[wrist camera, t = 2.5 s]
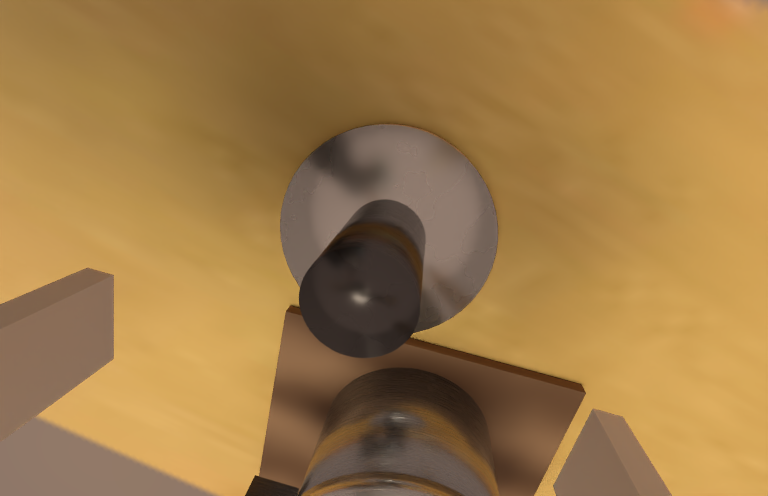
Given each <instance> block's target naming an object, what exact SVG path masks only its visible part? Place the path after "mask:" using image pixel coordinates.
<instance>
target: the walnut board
mask: <svg viewBox="0 0 768 496" xmlns="http://www.w3.org/2000/svg"><path fill="white" fill-rule="evenodd" d="M386 368H413V369H419V370H424V371H428V372H431V373H434V374H437V375H439V376H442V377H444V378H446V379H448V380H450V381H451V382H453V383H455V384H456V385H458V386H459V387H460V388H462V389H463V390H464V391H465V392H467V393H468V394H469V395H470V396H471V398H472V399H473V400H474V401H475V402H476V404H477V405H478V406H479V408H480V409H481V411H482V413H483V415H484V417H485V420H486V423H487V425H488V431H489V436H490V443H491V449H492V455H493V461H494V467H495V473H496V479H497V485H498V491H499V496H534V494H535V492H536V491H537V489H538V487H539V485H540V483H541V481H542V479H543V477H544V475H545V473H546V471H547V469H548V467H549V465H550V463H551V461H552V459H553V457H554V455H555V453H556V451H557V449H558V447H559V445H560V443H561V441H562V439H563V437H564V435H565V433H566V431H567V429H568V428H569V426H570V424H571V422H572V420H573V418H574V416H575V414H576V412H577V410H578V408H579V406H580V404H581V402H582V400H583V398H584V396H585V394H586V392H585V390H584V388H583V387H582V385H581V384H578V383H574V382H570V381H566V380H563V379H559V378H555V377H552V376H548V375H544V374H541V373H537V372H533V371H530V370H526V369H522V368H519V367H515V366H511V365H508V364H504V363H500V362H497V361H493V360H489V359H485V358H482V357H478V356H474V355H471V354H467V353H463V352H460V351H456V350H452V349H449V348H445V347H441V346H438V345H434V344H430V343H427V342H423V341H419V340H416V339H412V338H409V339H408V340H407V341H406V342H405V343H404V344H403V345H402V346H400V347H399V348H398V349H396V350H394V351H393V352H391V353H388V354H386V355H383V356H379V357H373V358H355V357H350V356H346V355H343V354H340V353H338V352H335V351H333V350H331V349H330V348H328V347H327V346H325V345H324V344H323V343H321V342H320V341H319V340H318V339H317V338H316V337H315V336H314V335H313V334H312V333H311V331H310V330H309V328H308V327H307V325H306V323H305V321H304V319H303V317H302V314H301V310H300V308H298V307H294V306H290V307H289V308H288V309H287V311H286V314H285V320H284V327H283V333H282V339H281V345H280V351H279V357H278V363H277V369H276V376H275V382H274V388H273V394H272V400H271V406H270V412H269V419H268V425H267V431H266V437H265V443H264V449H263V455H262V462H261V468H260V474H259V477H263V478H266V479H269V480H273V481H276V482H280V483H283V484H287V485H290V486H293V487H297V488H299V491H300V489H301V486H302V483H303V480H304V478H305V475H306V472H307V469H308V467H309V464H310V461H311V458H312V456H313V453H314V450H315V447H316V445H317V442H318V439H319V436H320V433H321V431H322V428H323V425H324V422H325V420H326V417H327V414H328V411H329V409H330V406H331V404H332V402H333V400H334V399H335V397H336V396H337V394H338V393H339V392H340V391H341V390H342V389H343V388H344V387H345V386H346V385H347V384H349V383H350V382H351V381H353V380H354V379H356V378H358V377H360V376H362V375H364V374H367V373H369V372H372V371H376V370H380V369H386ZM299 491H298V493H299Z"/></svg>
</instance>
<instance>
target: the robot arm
mask: <svg viewBox="0 0 768 496" xmlns="http://www.w3.org/2000/svg"><path fill="white" fill-rule="evenodd" d="M113 359H114V275H111V274H108V273H104V272H101V271H97V270H93V269H90V268H86V269H83V270H81V271H79V272H76V273H74V274H71V275H69V276H67V277H64V278H62V279H60V280H57V281H55V282H53V283H50V284H48V285H45V286H43V287H41V288H38V289H36V290H34V291H31V292H29V293H26V294H24V295H22V296H19V297H17V298H15V299H12V300H10V301H7V302H5V303H3V304H0V442H1V441H3V440H4V439H5V438H7V437H8V436H9V435H11V434H12V433H13V432H15V431H16V430H18V429H19V428H20V427H22V426H23V425H24V424H26V423H27V422H28V421H30V420H31V419H32V418H34V417H35V416H37V415H38V414H39V413H41V412H42V411H43V410H45V409H46V408H47V407H49V406H50V405H51V404H53V403H54V402H56V401H57V400H58V399H60V398H61V397H62V396H64V395H65V394H66V393H68V392H69V391H70V390H72V389H73V388H75V387H76V386H77V385H79V384H80V383H81V382H83V381H84V380H85V379H87V378H88V377H90V376H91V375H92V374H94V373H95V372H96V371H98V370H99V369H100V368H102V367H103V366H104V365H106V364H107V363H109V362H110V361H111V360H113ZM553 487H554V490H555V493H556V496H672V495H671V493H670V492H669V490H668V488H667V487H666V485H665V484H664V482H663V480H662V479H661V477H660V476H659V474H658V472H657V471H656V469H655V468H654V466H653V464H652V463H651V461H650V460H649V458H648V456H647V455H646V453H645V452H644V450H643V448H642V447H641V445H640V444H639V442H638V440H637V439H636V437H635V436H634V434H633V432H632V431H631V429H630V428H629V426H628V424H627V423H626V421H625V419H624V418H623V417H622V416H618V415H614V414H611V413H607V412H604V411H600V410H596V409H592V411H591V413H590V415H589V417H588V419H587V421H586V423H585V425H584V427H583V429H582V431H581V433H580V435H579V437H578V439H577V441H576V443H575V445H574V446H573V448H572V450H571V452H570V454H569V456H568V458H567V460H566V462H565V464H564V466H563V468H562V470H561V472H560V474H559V476H558V478H557V480H556V482H555V483H554V485H553Z"/></svg>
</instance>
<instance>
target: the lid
mask: <svg viewBox="0 0 768 496" xmlns="http://www.w3.org/2000/svg"><path fill="white" fill-rule="evenodd" d="M280 232H281V242H282V247H283V252H284V255H285V258H286V261H287V264H288V266H289V268H290V271H291V273H292V275H293V277H294V278H295V280H296V281H297V283H298V285H299V286H300V292H299V305H300V310H301V314H302V317H303V319H304V321H305V323H306V325H307V327H308V328H309V330H310V331H311V333H312V334H313V335H314V336H315V337H316V338H317V339H318V340H319V341H320V342H321V343H323V344H324V345H325V346H327V347H328V348H330V349H331V350H333V351H335V352H338V353H340V354H343V355H346V356H350V357H355V358H373V357H379V356H383V355H386V354H388V353H391V352H393V351H394V350H396V349H398V348H399V347H400V346H402V345H403V344H404V343H405V342H406V341H407V340H408V339H409V338H410V336H411V335H412V334H413V333H415V332H419V331H423V330H426V329H429V328H432V327H434V326H437V325H439V324H441V323H443V322H445V321H447V320H449V319H450V318H452V317H453V316H455V315H456V314H457V313H459V312H460V311H462V310H463V309H464V308H465V307H466V306H467V305H468V304H469V303H470V302H471V301H472V300H473V299H474V297H475V296H476V295H477V294H478V292H479V291H480V290H481V288H482V286H483V285H484V283H485V282H486V280H487V278H488V276H489V273H490V271H491V269H492V266H493V263H494V259H495V255H496V250H497V242H498V223H497V217H496V210H495V207H494V204H493V200H492V197H491V195H490V193H489V190H488V188H487V186H486V184H485V182H484V181H483V179H482V177H481V176H480V174H479V173H478V171H477V170H476V168H475V167H474V166H473V165H472V163H471V162H470V161H469V160H468V159H467V158H466V156H465V155H464V154H462V153H461V152H460V151H459V150H458V149H457V148H456V147H455V146H453V145H452V144H450V143H449V142H447V141H446V140H444V139H443V138H441V137H439V136H437V135H435V134H433V133H431V132H429V131H426V130H423V129H420V128H416V127H412V126H407V125H401V124H378V125H369V126H364V127H360V128H356V129H352V130H349V131H347V132H344V133H342V134H339V135H337V136H335V137H334V138H332V139H330V140H328V141H327V142H325V143H324V144H322V145H321V146H320V147H318V148H317V149H316V150H315V151H313V152H312V153H311V154H310V155H309V156H308V157H307V159H306V160H305V161H304V162H303V163H302V164H301V166H300V167H299V168H298V170H297V171H296V173H295V174H294V176H293V178H292V180H291V182H290V184H289V186H288V189H287V191H286V194H285V197H284V201H283V205H282V210H281V220H280Z"/></svg>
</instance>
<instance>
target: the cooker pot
mask: <svg viewBox="0 0 768 496" xmlns="http://www.w3.org/2000/svg"><path fill="white" fill-rule="evenodd" d="M298 491H299V488H297V487H293V486H290V485H287V484H283V483H280V482H276V481H273V480H269V479H266V478H263V477H259V476H256V475H255V477H254V479H253V481H252V483H251V485H250V487H249V489H248V491H247V493H246V495H245V496H499V491H498V485H497V479H496V473H495V467H494V461H493V455H492V449H491V443H490V436H489V431H488V425H487V423H486V420H485V417H484V415H483V413H482V411H481V409H480V408H479V406H478V405H477V404H476V402H475V401H474V400H473V399H472V398H471V396H470V395H469V394H468V393H467V392H465V391H464V390H463V389H462V388H460V387H459V386H458V385H456V384H455V383H453V382H451V381H450V380H448V379H446V378H444V377H442V376H439V375H437V374H434V373H431V372H428V371H424V370H419V369H413V368H386V369H380V370H376V371H372V372H369V373H367V374H364V375H362V376H360V377H358V378H356V379H354V380H353V381H351V382H350V383H349V384H347V385H346V386H345V387H344V388H343V389H342V390H341V391H340V392H339V393H338V394H337V396H336V397H335V399H334V400H333V402H332V404H331V406H330V409H329V411H328V414H327V417H326V420H325V422H324V425H323V428H322V431H321V433H320V436H319V439H318V442H317V445H316V447H315V450H314V453H313V456H312V458H311V461H310V464H309V467H308V469H307V472H306V475H305V478H304V480H303V483H302V486H301V489H300V491H299V494H298Z"/></svg>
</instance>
